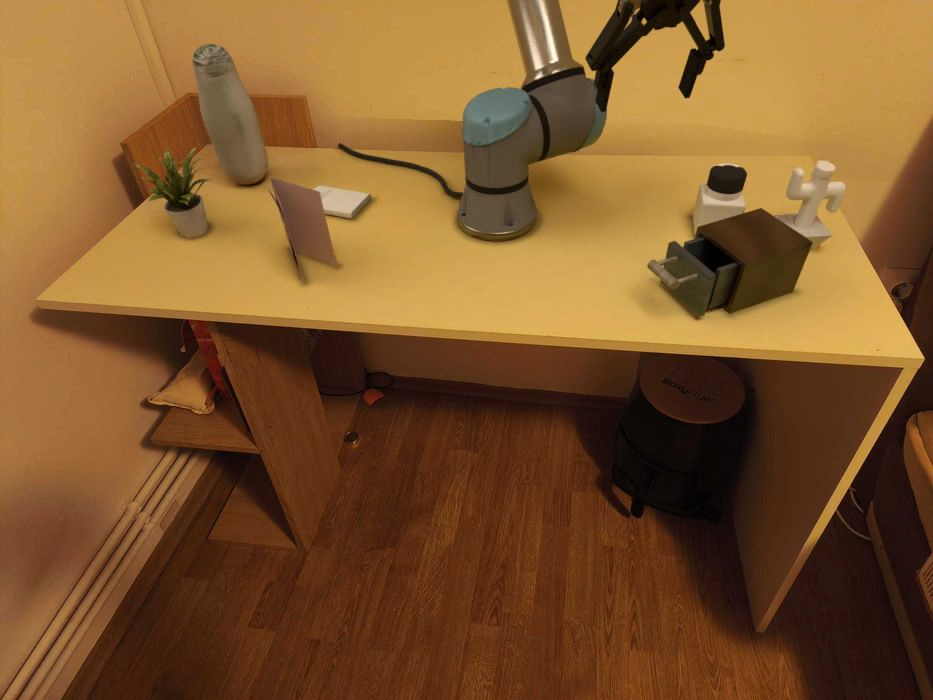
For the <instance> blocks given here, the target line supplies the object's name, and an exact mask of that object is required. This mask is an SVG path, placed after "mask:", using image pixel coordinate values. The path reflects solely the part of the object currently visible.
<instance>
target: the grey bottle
mask: <svg viewBox="0 0 933 700" xmlns="http://www.w3.org/2000/svg"><path fill="white" fill-rule="evenodd" d="M192 69H193V71H194V75H195V80H196V84H197V86H196V87H197V91H198V104H199V109H200V114H201V118H202V121H203V124H204V127H205V129H206V132H207V135H208V137H209V140H210V142H211V145H212V148H213V151H214V153H215V156H216V159H217V161H218V164H219V166H220V168H221V170H222V171H223V173H224V174H225V175H226V177H228V178H229V179H230V180H231V181H232V182H234V183H237V184H240V185H253V184H256V183H259V182H260V181H261V180H262V179H263V178H264V177H265V175H266V174H267V170H268V167H269V158H268V152H267V149H266V145H265V142H264V138H263V135H262V131H261V126H260V123H259V119H258V115H257V112H256V108H255V106H254V103H253V101H252V99H251V97H250V95H249V92H248V91H247V89H246V87H245V85H244V83H243V81H242V80H241V77H240V75H239V73H238V70H237V68H236V64H235V62H234V60H233V58H232V56H231V54H230V52H229V51H228V50H227V49H226V48H224V47H223V46H222V45H219V44H215V43H208V44H203V45H201V46H198V47H197V48H196V49H195V50H194V52H193V54H192Z"/></svg>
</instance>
